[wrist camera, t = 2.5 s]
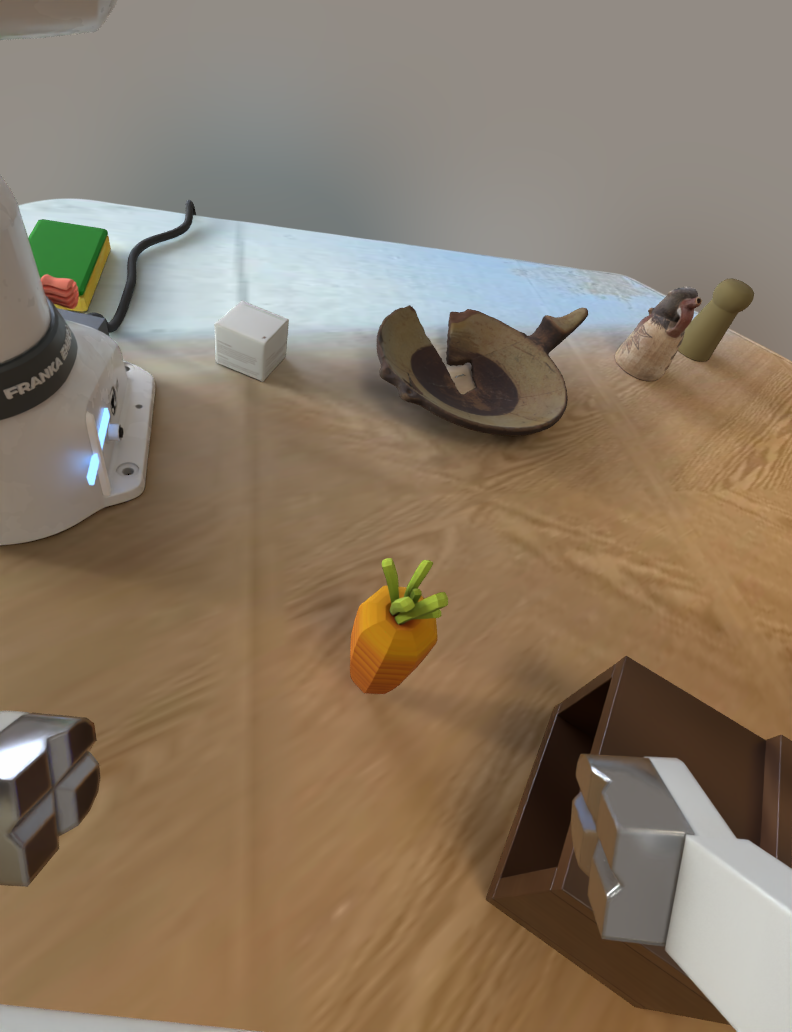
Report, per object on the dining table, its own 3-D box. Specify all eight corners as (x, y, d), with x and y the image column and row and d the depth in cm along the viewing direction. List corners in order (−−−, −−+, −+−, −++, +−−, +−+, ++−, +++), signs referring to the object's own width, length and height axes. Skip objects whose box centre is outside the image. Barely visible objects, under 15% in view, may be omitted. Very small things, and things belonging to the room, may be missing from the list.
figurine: (653, 356, 79) (707, 281, 70) (666, 386, 75) (726, 310, 65) (609, 346, 78) (659, 268, 69) (621, 376, 73) (675, 296, 64)
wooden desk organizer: (554, 707, 41) (637, 647, 32) (673, 783, 39) (794, 741, 31) (485, 899, 32) (574, 888, 24) (635, 1007, 31) (789, 1037, 22)
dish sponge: (9, 304, 54) (1, 282, 52) (45, 238, 62) (39, 217, 61) (86, 313, 56) (81, 292, 54) (111, 248, 64) (107, 228, 62)
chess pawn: (696, 364, 81) (749, 298, 72) (666, 341, 83) (714, 274, 75) (716, 357, 84) (769, 293, 75) (686, 335, 86) (734, 270, 78)
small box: (287, 356, 59) (290, 317, 56) (263, 383, 56) (264, 344, 52) (241, 337, 60) (241, 297, 56) (213, 363, 56) (212, 322, 52)
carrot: (322, 665, 39) (357, 552, 27) (383, 645, 41) (439, 532, 29) (347, 731, 36) (396, 638, 25) (410, 706, 38) (482, 609, 27)
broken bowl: (341, 333, 64) (351, 273, 59) (545, 338, 75) (571, 288, 69) (394, 470, 52) (413, 411, 47) (628, 452, 63) (668, 403, 57)
